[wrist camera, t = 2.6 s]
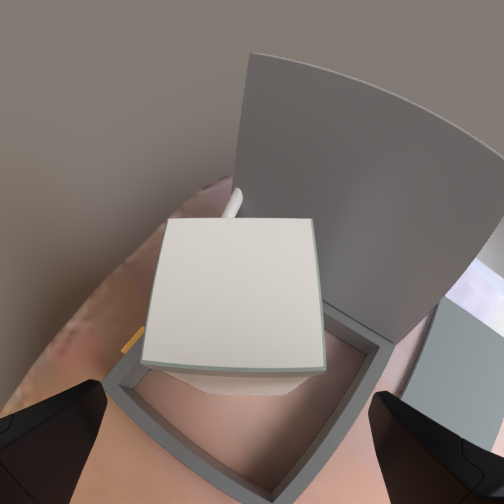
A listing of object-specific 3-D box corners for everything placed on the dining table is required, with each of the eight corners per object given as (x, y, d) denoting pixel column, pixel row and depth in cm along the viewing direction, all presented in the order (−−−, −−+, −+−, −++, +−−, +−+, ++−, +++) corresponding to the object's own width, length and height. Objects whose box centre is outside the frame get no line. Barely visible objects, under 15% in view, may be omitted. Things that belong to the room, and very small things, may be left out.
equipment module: (285, 397, 17) (327, 369, 7) (207, 395, 17) (138, 362, 7) (284, 325, 20) (312, 216, 10) (212, 324, 20) (166, 216, 10)
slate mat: (479, 468, 11) (482, 469, 11) (383, 426, 15) (386, 426, 15) (517, 352, 16) (520, 350, 16) (439, 297, 20) (441, 294, 20)
